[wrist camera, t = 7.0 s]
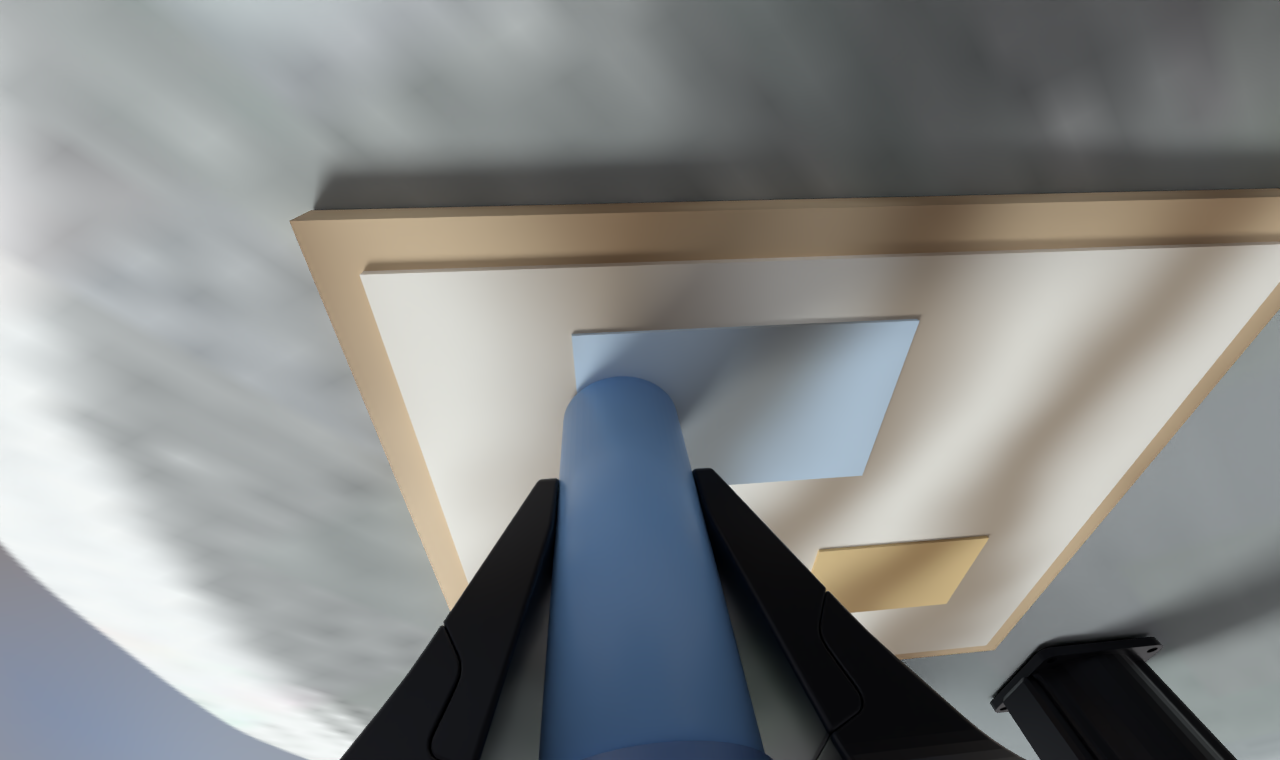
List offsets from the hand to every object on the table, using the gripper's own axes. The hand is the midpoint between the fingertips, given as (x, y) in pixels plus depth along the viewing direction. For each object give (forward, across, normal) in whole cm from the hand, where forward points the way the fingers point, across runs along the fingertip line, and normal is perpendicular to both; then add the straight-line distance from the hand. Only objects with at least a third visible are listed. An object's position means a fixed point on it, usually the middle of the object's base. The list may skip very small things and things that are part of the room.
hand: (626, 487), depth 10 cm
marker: (+2, 0, 0) cm, 2 cm away
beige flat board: (+3, -6, +5) cm, 8 cm away
